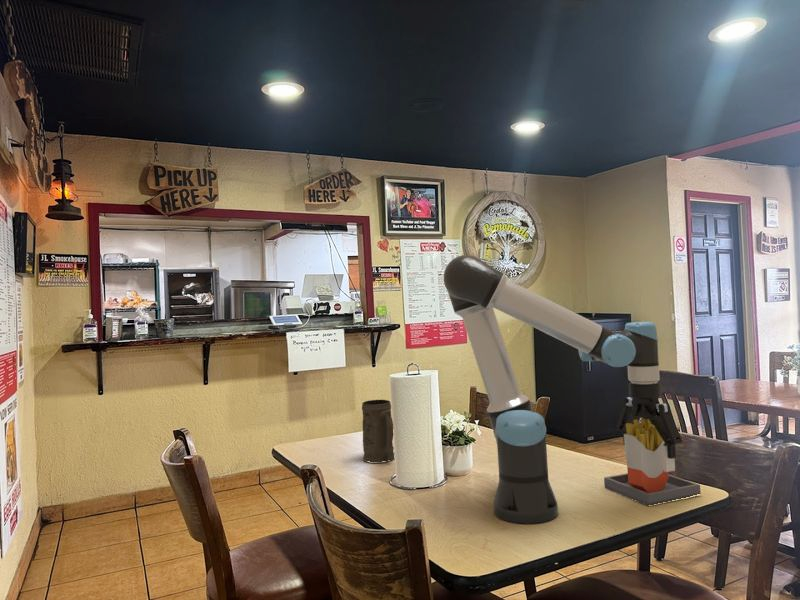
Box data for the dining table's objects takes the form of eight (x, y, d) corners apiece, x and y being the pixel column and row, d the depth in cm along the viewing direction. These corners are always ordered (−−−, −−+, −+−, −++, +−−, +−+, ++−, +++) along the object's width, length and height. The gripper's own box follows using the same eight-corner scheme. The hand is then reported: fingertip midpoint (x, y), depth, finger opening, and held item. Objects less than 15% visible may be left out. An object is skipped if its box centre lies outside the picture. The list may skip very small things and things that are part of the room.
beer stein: (355, 459, 194) (354, 401, 193) (380, 453, 201) (379, 397, 200) (384, 470, 182) (383, 409, 182) (409, 463, 189) (408, 403, 189)
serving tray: (649, 506, 136) (648, 494, 136) (604, 488, 151) (604, 477, 151) (700, 496, 141) (700, 484, 141) (652, 479, 156) (652, 468, 156)
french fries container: (670, 487, 146) (666, 417, 146) (644, 497, 140) (640, 424, 140) (654, 483, 150) (650, 415, 150) (628, 492, 144) (624, 421, 144)
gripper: (694, 385, 136) (700, 474, 135) (622, 376, 159) (627, 451, 159) (670, 388, 133) (675, 479, 133) (600, 378, 157) (605, 455, 157)
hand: (649, 464), depth 146 cm, fingers open, 13 cm apart
